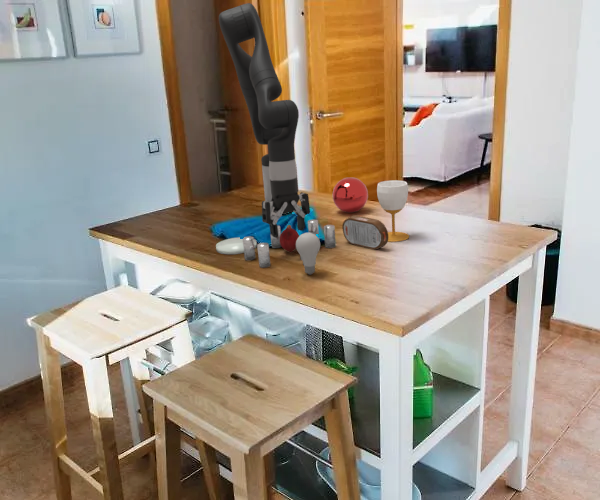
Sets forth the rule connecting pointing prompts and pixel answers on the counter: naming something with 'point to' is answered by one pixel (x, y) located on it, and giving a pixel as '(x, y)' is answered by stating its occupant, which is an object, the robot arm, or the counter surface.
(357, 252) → the counter surface
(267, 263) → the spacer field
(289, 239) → the onion
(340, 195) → the ball
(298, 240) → the lightbulb
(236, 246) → the dish
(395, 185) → the cup
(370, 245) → the tin
